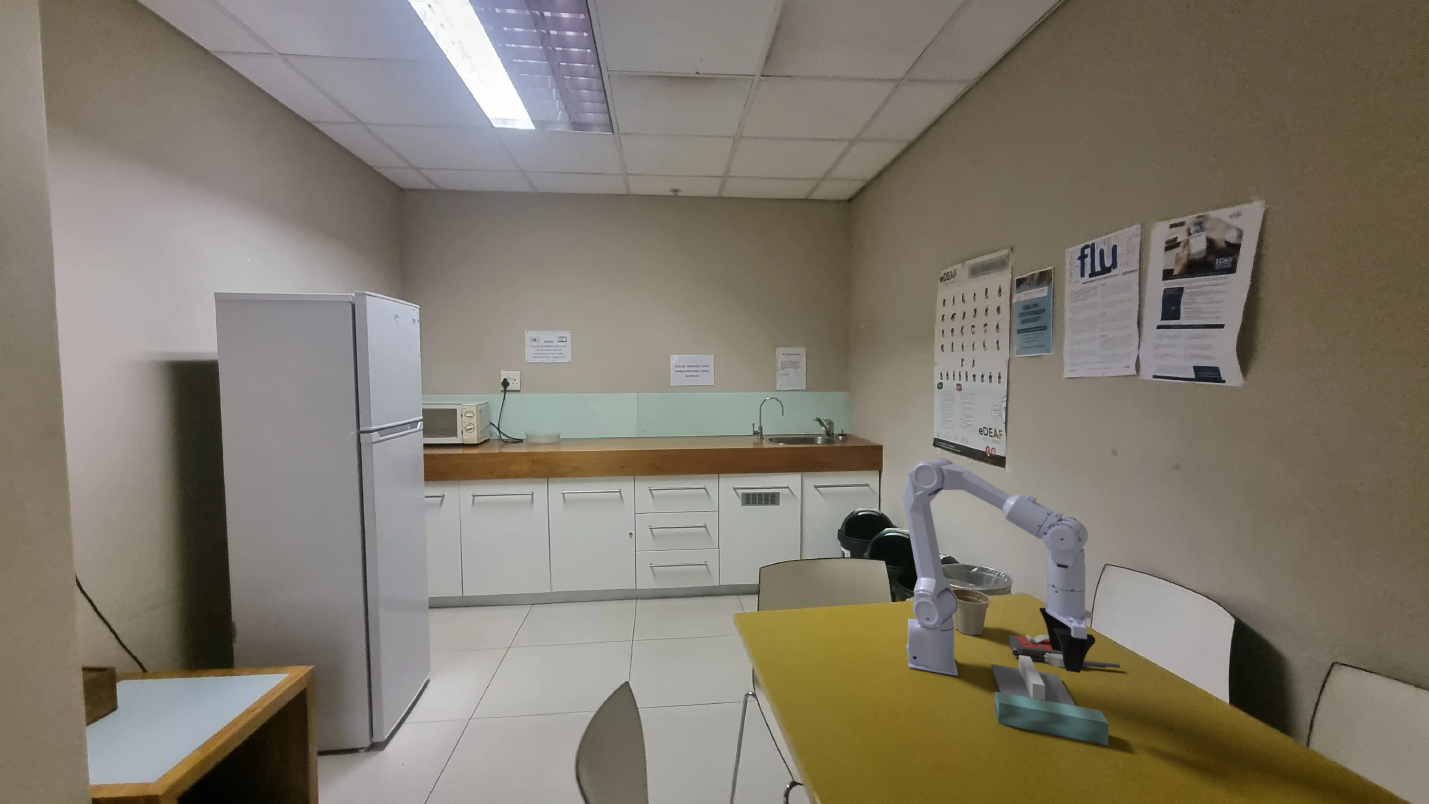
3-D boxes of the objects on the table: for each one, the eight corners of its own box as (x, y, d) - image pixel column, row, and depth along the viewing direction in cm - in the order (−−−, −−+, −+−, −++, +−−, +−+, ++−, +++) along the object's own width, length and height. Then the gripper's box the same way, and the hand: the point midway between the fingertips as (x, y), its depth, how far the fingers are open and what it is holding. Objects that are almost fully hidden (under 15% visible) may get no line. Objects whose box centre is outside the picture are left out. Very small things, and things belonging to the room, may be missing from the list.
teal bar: (998, 725, 88) (998, 702, 88) (994, 713, 91) (995, 691, 91) (1108, 747, 82) (1108, 722, 82) (1100, 733, 86) (1100, 710, 86)
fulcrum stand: (1002, 700, 95) (1002, 679, 95) (991, 668, 106) (991, 649, 106) (1077, 714, 90) (1077, 692, 90) (1057, 679, 102) (1057, 659, 102)
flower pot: (984, 623, 127) (984, 590, 127) (996, 641, 118) (996, 604, 118) (944, 620, 129) (944, 586, 129) (952, 637, 120) (953, 601, 120)
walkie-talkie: (1017, 665, 108) (1123, 675, 104) (1017, 644, 108) (1123, 654, 104) (1002, 645, 117) (1099, 654, 112) (1002, 626, 116) (1099, 635, 112)
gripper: (1108, 604, 83) (1108, 685, 83) (1077, 575, 96) (1076, 644, 97) (1059, 598, 85) (1058, 677, 85) (1035, 570, 99) (1034, 639, 99)
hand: (1065, 660), depth 91 cm, fingers open, 7 cm apart
